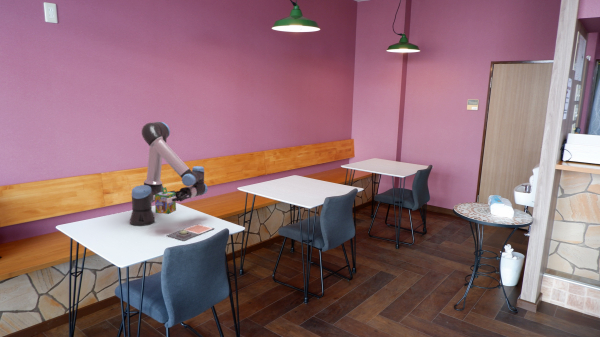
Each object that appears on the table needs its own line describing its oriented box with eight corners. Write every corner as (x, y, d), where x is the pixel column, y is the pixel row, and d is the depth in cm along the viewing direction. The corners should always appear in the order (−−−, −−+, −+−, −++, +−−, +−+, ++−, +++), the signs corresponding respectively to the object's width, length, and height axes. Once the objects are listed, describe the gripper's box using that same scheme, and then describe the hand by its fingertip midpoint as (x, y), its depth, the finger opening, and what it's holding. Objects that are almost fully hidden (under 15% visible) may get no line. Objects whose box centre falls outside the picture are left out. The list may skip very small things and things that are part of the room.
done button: (178, 234, 231) (178, 231, 231) (183, 232, 235) (183, 229, 234) (183, 236, 229) (183, 232, 229) (188, 234, 233) (188, 230, 232)
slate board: (166, 236, 232) (166, 232, 232) (197, 224, 255) (197, 221, 254) (183, 241, 225) (183, 237, 225) (214, 229, 248) (214, 225, 247)
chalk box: (168, 214, 233) (168, 190, 230) (154, 213, 235) (154, 189, 232) (176, 210, 242) (176, 187, 239) (162, 209, 244) (162, 185, 241)
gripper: (201, 201, 248) (174, 208, 229) (174, 195, 259) (147, 202, 240) (201, 189, 246) (174, 196, 227) (174, 184, 257) (146, 190, 238)
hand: (160, 199), depth 233 cm, fingers closed on chalk box, 11 cm apart
